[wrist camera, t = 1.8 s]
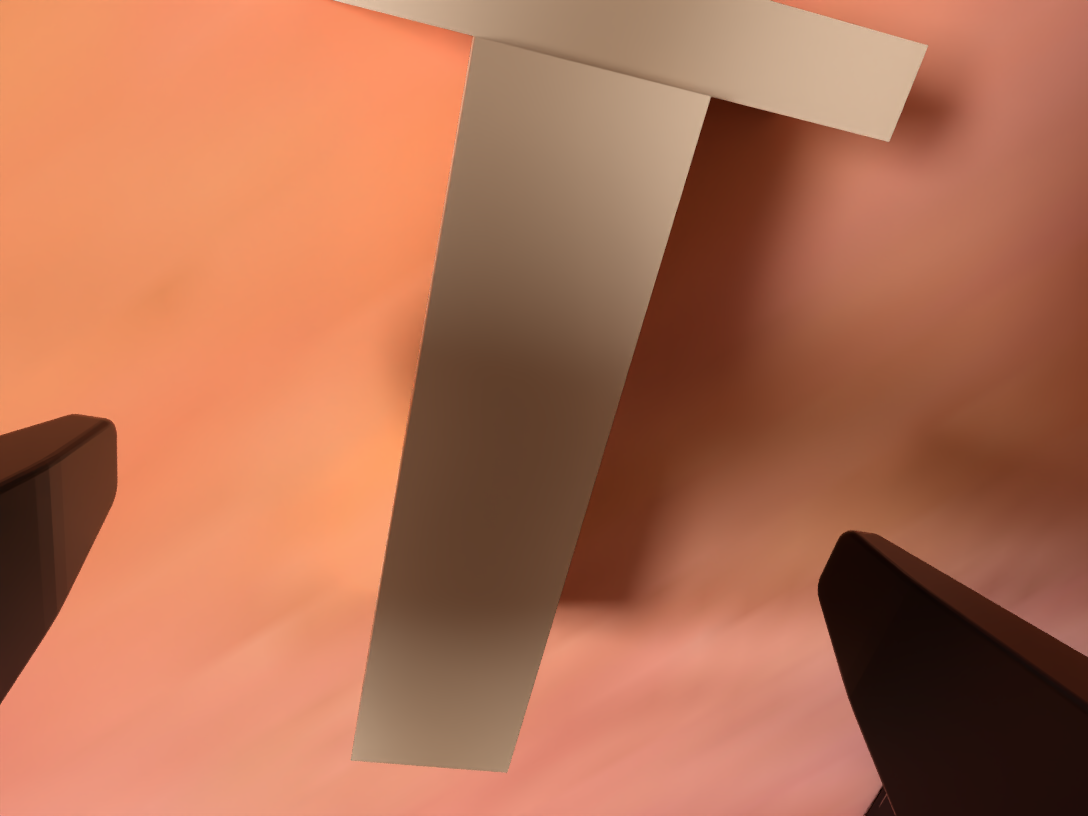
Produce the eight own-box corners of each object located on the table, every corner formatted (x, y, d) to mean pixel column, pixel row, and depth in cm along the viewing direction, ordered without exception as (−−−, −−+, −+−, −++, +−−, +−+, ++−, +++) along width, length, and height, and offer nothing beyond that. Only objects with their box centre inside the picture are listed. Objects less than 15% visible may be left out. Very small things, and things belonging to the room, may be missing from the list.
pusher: (798, 42, 11) (955, 47, 8) (606, 613, 16) (646, 783, 12) (313, -92, 10) (226, -163, 6) (258, 571, 14) (189, 748, 11)
